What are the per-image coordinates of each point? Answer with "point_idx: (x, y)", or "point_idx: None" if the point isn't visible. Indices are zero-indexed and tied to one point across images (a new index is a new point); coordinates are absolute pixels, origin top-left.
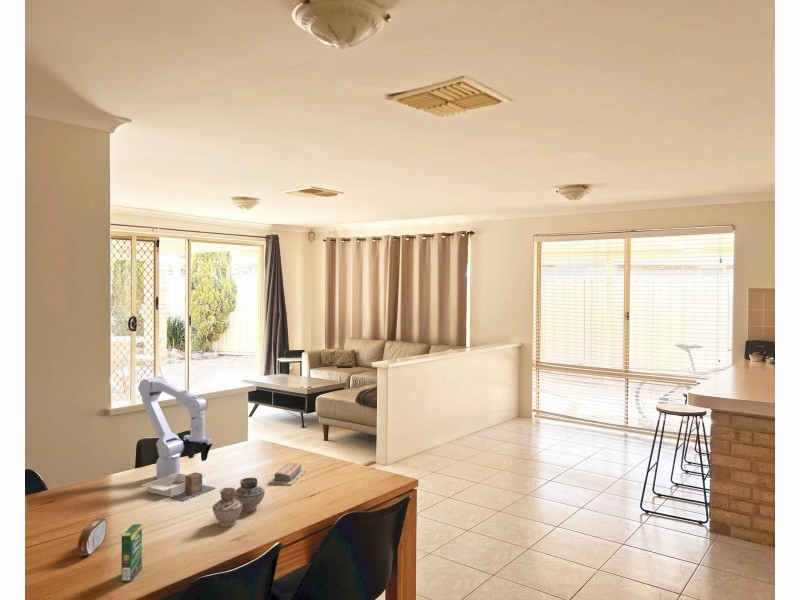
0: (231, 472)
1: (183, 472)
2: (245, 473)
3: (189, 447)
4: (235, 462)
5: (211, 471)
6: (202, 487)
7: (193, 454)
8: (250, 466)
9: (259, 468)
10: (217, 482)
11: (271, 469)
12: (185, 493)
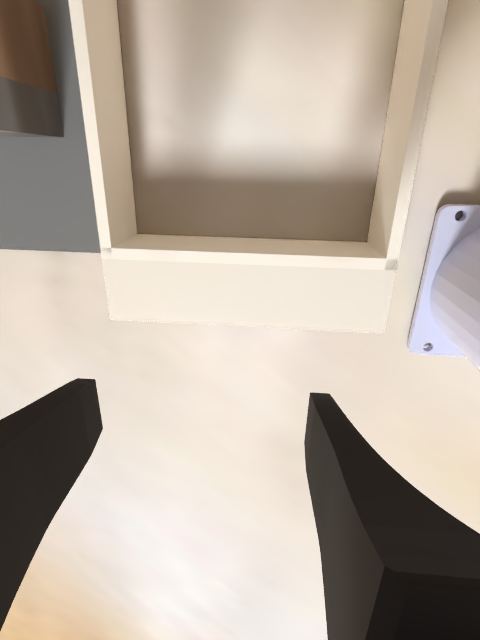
0: (179, 504)
1: (350, 292)
2: (99, 516)
3: (342, 524)
4: (292, 613)
5: (301, 479)
6: (63, 208)
7: (308, 468)
8: (171, 593)
9: (107, 585)
10: (94, 348)
11: (47, 590)
12: (38, 7)
